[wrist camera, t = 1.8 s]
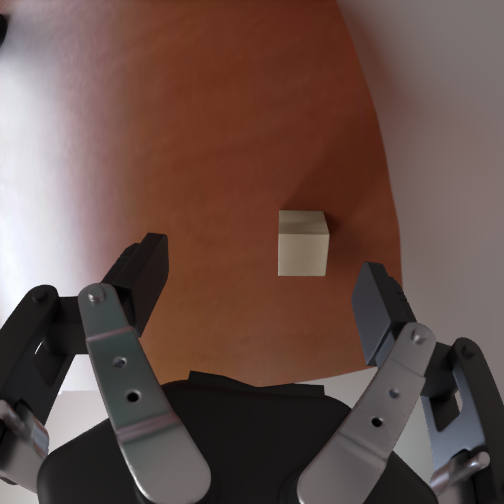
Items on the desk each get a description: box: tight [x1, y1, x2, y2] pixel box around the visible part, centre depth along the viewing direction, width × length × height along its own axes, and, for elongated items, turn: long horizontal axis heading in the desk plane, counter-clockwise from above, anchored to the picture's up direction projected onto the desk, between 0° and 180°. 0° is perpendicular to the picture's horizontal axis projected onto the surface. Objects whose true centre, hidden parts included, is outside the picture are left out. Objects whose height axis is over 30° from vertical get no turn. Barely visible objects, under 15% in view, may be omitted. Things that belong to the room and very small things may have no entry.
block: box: [278, 210, 330, 276], centre depth 30 cm, size 4×4×5 cm
